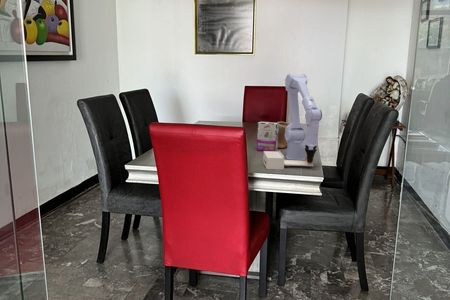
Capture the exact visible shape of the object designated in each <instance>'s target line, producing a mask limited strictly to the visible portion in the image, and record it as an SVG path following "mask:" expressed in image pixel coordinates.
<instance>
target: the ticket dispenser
mask: <svg viewBox="0 0 450 300" xmlns="http://www.w3.org/2000/svg"><path fill="white" fill-rule="evenodd" d="M262 152H263V153H262V154H263V156H262V163H263V164H264V166H265V168H266V170H283V171H284V169H285V165H284V160H286V157H285V155H284V154H283V153H282V151H281V150H277V152H274V151H262Z"/></svg>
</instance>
